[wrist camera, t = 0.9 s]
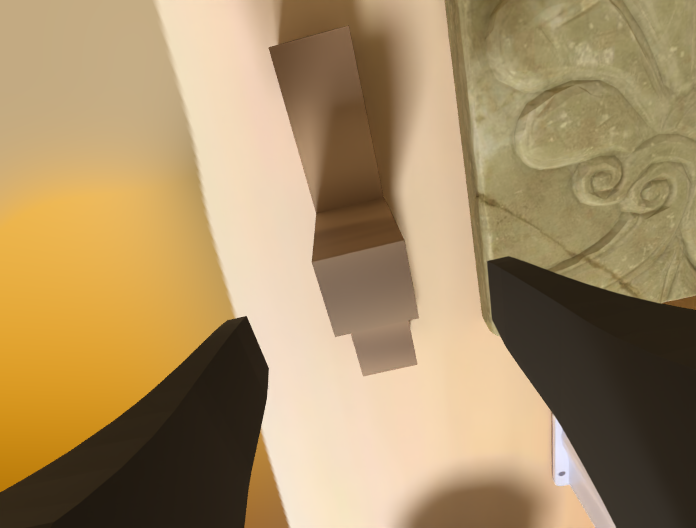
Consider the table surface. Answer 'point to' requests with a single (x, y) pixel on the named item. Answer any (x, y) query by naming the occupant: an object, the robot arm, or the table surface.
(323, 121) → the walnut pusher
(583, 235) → the decorative tile
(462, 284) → the table surface
